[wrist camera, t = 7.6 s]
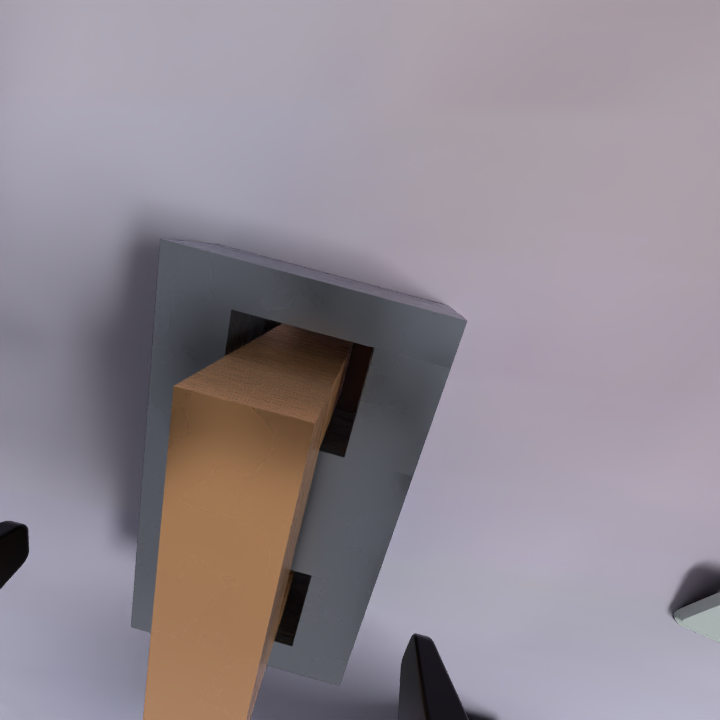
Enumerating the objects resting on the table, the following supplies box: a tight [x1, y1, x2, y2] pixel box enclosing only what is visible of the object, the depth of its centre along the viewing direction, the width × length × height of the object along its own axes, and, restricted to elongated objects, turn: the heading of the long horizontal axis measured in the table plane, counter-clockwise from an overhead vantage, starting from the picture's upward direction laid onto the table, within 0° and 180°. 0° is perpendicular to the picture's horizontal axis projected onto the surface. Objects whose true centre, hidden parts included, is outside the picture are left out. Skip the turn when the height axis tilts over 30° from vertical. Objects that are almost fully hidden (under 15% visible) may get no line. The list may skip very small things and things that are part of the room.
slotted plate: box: [131, 239, 467, 686], centre depth 12 cm, size 14×8×3 cm, turn 166°
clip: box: [143, 323, 354, 720], centre depth 10 cm, size 10×2×6 cm, turn 166°
